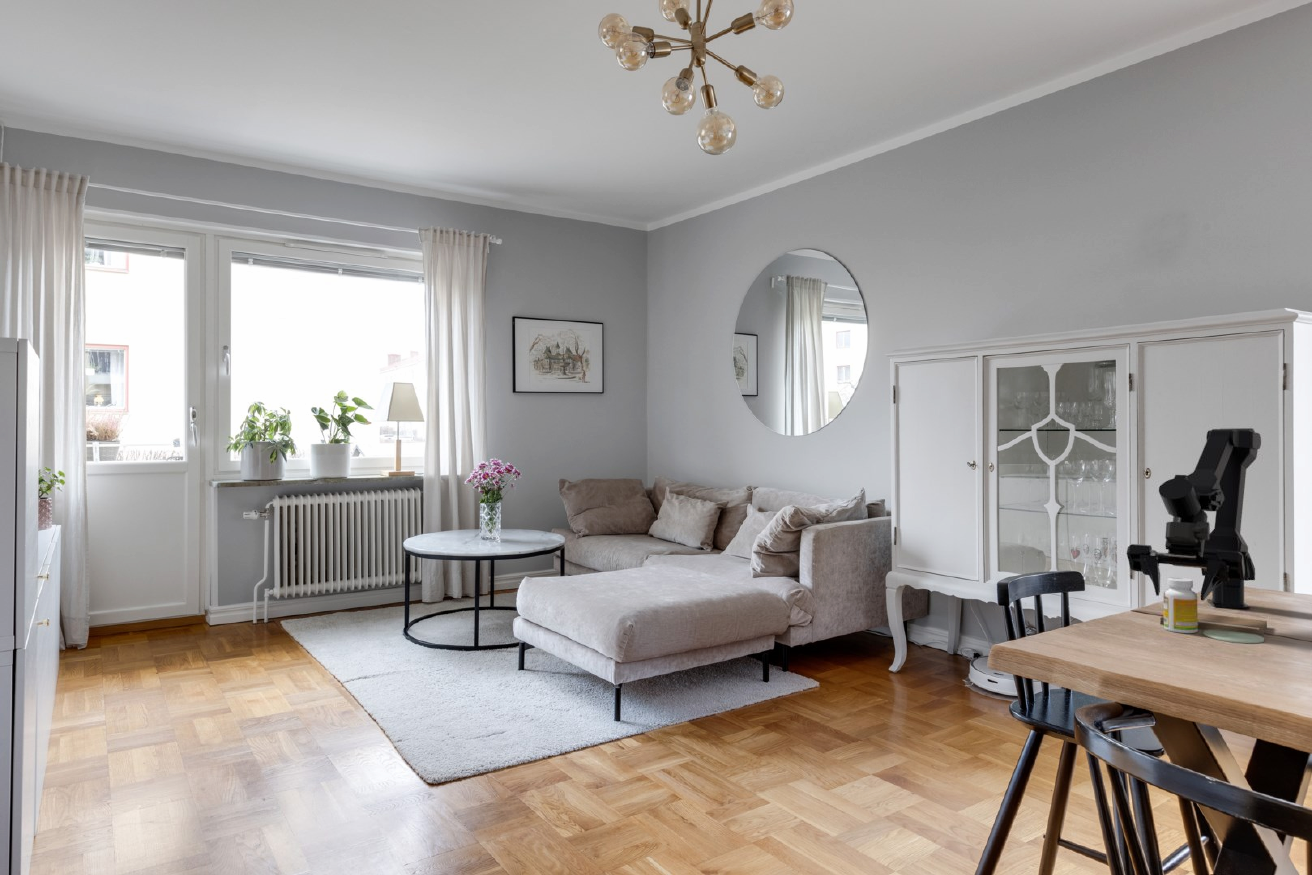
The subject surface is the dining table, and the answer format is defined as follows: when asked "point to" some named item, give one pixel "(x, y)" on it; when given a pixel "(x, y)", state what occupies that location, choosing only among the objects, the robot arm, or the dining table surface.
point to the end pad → (1233, 636)
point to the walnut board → (1229, 623)
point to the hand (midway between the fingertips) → (1179, 596)
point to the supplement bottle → (1180, 606)
